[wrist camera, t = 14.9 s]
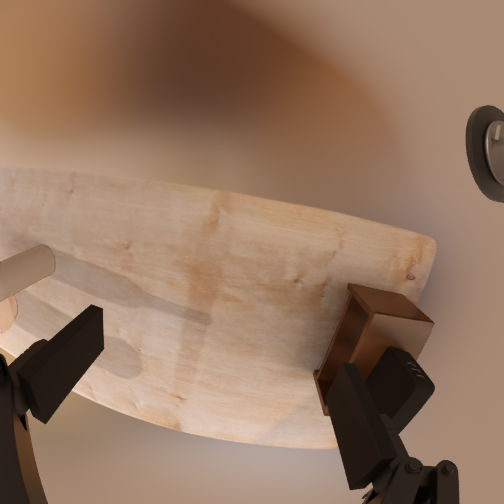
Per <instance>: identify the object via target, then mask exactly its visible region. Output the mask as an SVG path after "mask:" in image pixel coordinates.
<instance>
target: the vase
mask: <svg viewBox="0 0 504 504" xmlns="http://www.w3.org/2000/svg"><path fill="white" fill-rule="evenodd" d="M17 310H18V309H17V302H16V299H15V297H14V295H12V296H11V297H9V298H7V299H5V300H4V301H2V302H0V334H2V333H3V332H5V331H6V330H8V329H9V328H10V327H11V326H12V325H13V322H14V318H15V317H16V315H17Z"/></svg>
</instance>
